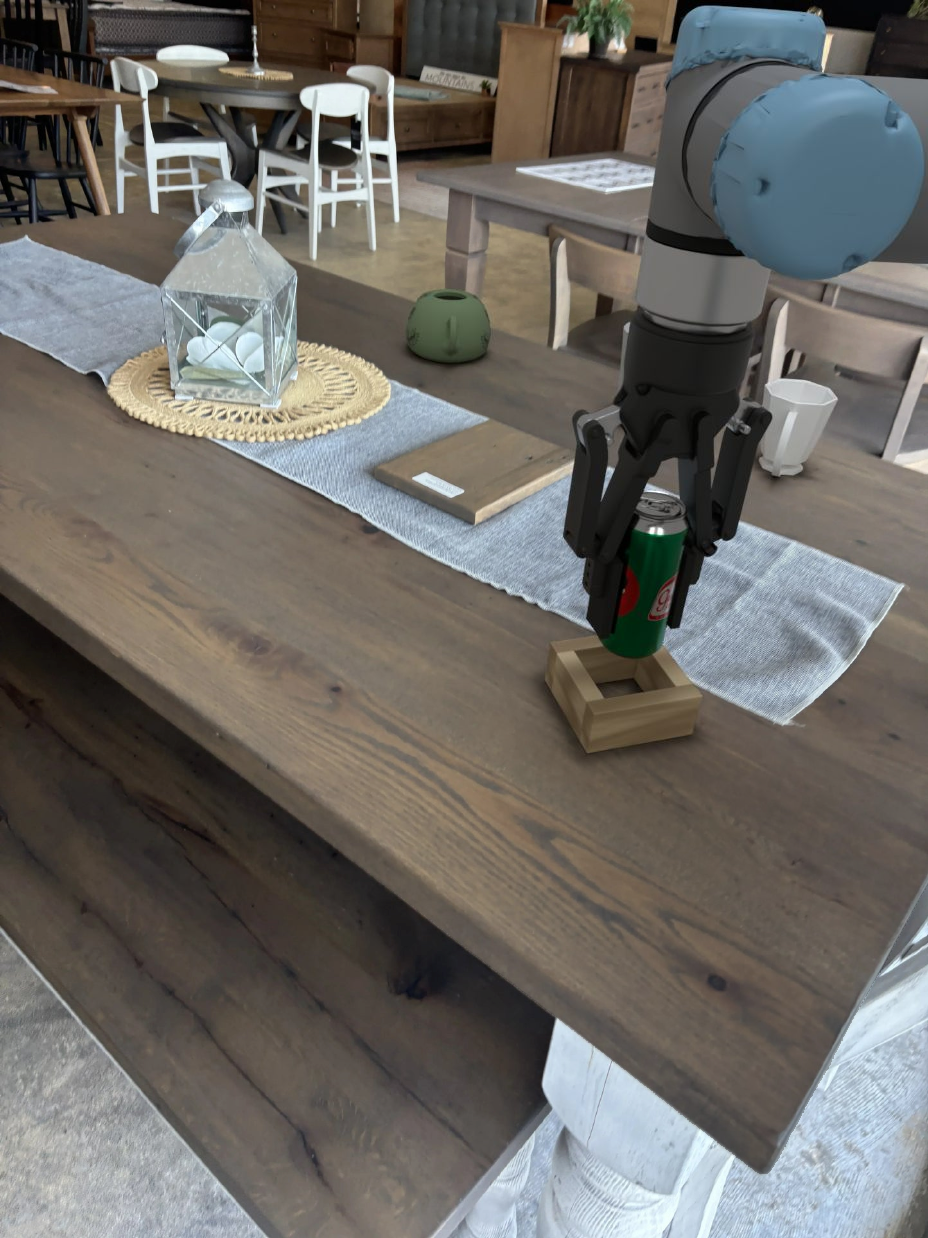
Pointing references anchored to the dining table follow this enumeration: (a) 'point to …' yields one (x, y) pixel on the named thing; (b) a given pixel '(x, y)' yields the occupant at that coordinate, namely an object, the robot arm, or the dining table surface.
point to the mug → (448, 326)
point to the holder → (621, 718)
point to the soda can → (648, 575)
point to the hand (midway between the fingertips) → (632, 622)
